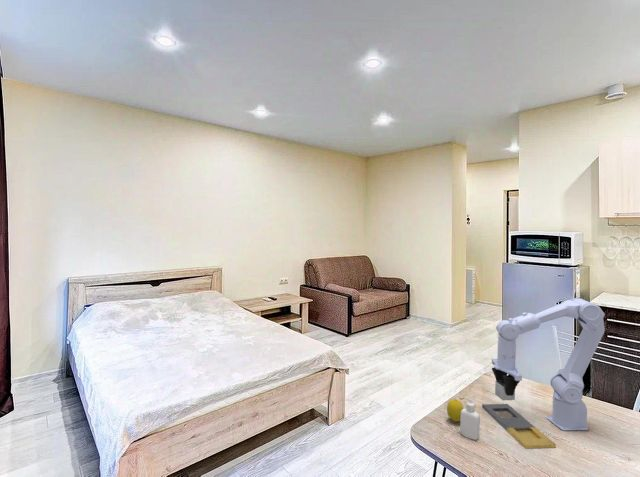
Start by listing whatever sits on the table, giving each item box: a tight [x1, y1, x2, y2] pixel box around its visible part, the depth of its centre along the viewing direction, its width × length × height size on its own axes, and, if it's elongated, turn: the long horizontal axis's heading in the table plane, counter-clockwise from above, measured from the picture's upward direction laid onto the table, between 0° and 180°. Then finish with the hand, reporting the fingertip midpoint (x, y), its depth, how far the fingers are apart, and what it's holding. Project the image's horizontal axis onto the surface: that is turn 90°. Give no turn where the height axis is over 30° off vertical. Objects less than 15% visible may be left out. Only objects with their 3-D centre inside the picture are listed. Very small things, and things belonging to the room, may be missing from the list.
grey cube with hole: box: [494, 380, 516, 401], centre depth 121 cm, size 4×4×5 cm
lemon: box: [446, 398, 465, 423], centre depth 117 cm, size 6×6×8 cm
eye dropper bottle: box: [459, 398, 481, 441], centre depth 109 cm, size 4×6×12 cm
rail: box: [481, 403, 557, 449], centre depth 115 cm, size 10×24×1 cm, turn 4°
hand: (505, 391), depth 121 cm, fingers closed on grey cube with hole, 4 cm apart
